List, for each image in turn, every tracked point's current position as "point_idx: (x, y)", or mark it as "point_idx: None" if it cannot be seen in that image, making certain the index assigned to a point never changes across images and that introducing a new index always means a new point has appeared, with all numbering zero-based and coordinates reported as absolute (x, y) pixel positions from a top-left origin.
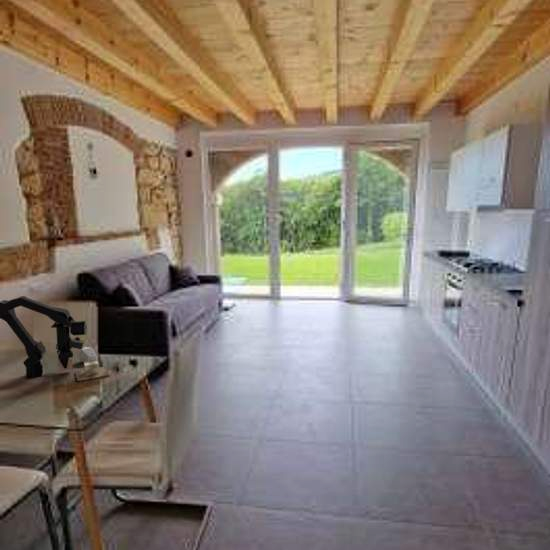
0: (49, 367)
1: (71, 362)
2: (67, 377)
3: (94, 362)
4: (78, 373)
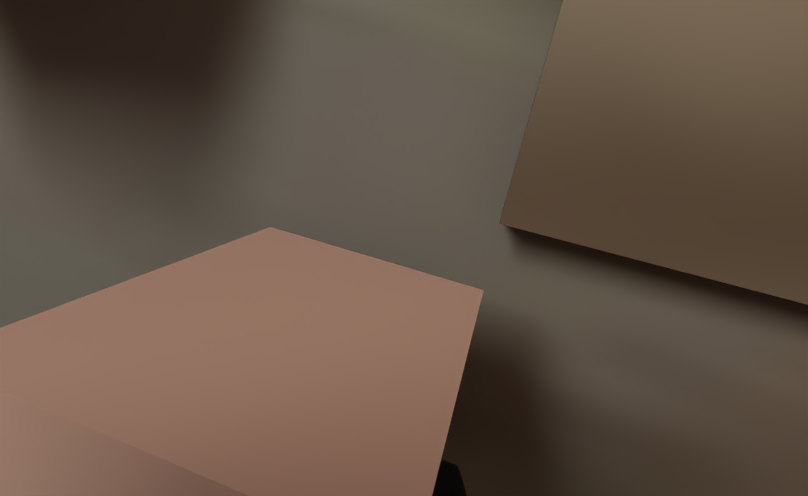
0: None
1: (444, 440)
2: (647, 421)
3: None
4: (728, 200)
